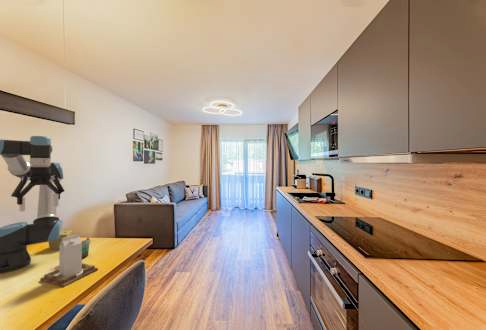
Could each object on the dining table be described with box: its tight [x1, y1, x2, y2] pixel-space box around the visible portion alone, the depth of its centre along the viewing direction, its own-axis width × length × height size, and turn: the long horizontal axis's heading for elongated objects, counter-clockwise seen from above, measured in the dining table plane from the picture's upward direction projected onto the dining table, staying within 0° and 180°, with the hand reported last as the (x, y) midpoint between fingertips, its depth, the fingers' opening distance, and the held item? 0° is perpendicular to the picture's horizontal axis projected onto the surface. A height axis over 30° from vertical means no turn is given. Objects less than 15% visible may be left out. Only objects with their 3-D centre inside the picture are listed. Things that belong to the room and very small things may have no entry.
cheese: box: [48, 229, 76, 250], centre depth 142 cm, size 10×11×10 cm
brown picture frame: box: [40, 262, 99, 288], centre depth 105 cm, size 17×16×2 cm
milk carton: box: [58, 233, 83, 278], centre depth 105 cm, size 7×7×19 cm
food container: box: [81, 237, 92, 260], centre depth 125 cm, size 12×6×10 cm, turn 168°
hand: (40, 208), depth 103 cm, fingers open, 13 cm apart
